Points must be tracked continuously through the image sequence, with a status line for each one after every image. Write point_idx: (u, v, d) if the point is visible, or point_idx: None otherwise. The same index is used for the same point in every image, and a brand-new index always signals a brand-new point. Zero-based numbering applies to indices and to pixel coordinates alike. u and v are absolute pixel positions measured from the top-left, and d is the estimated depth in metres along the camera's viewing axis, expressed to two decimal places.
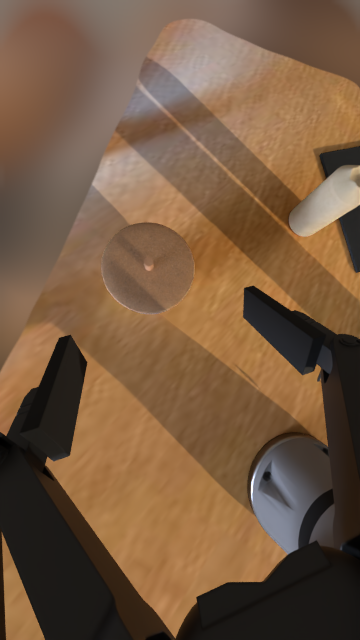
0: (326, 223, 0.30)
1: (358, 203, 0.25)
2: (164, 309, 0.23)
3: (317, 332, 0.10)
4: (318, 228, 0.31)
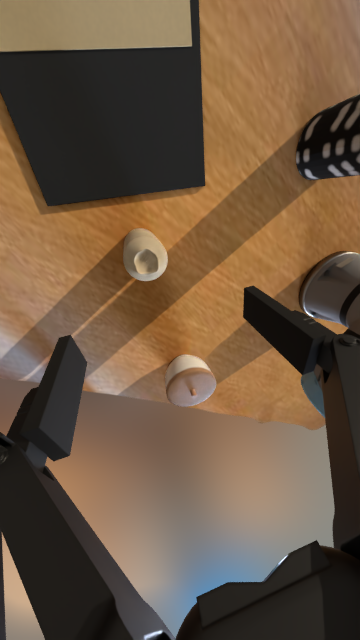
0: None
1: (166, 256, 0.25)
2: (215, 382, 0.42)
3: (317, 332, 0.10)
4: None
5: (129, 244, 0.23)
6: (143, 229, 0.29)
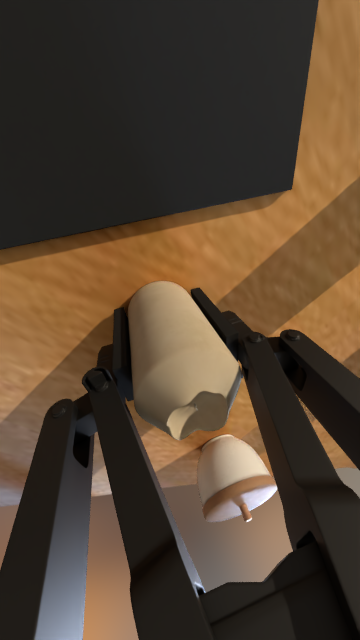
0: None
1: (240, 378, 0.10)
2: (276, 488, 0.27)
3: (232, 330, 0.11)
4: None
5: (151, 376, 0.08)
6: (168, 288, 0.14)
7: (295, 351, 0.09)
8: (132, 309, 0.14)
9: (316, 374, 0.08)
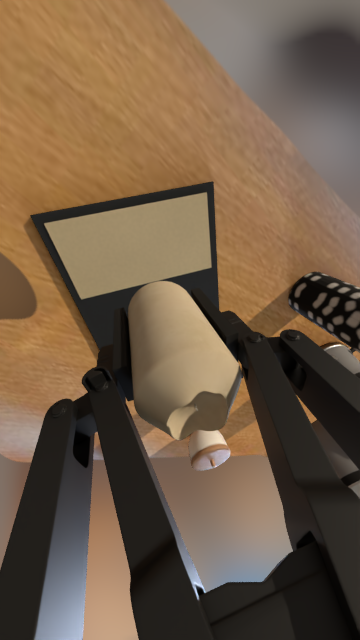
0: None
1: (240, 378, 0.10)
2: None
3: (232, 330, 0.11)
4: None
5: (151, 376, 0.08)
6: (168, 288, 0.14)
7: (295, 351, 0.09)
8: (132, 309, 0.14)
9: (316, 374, 0.08)
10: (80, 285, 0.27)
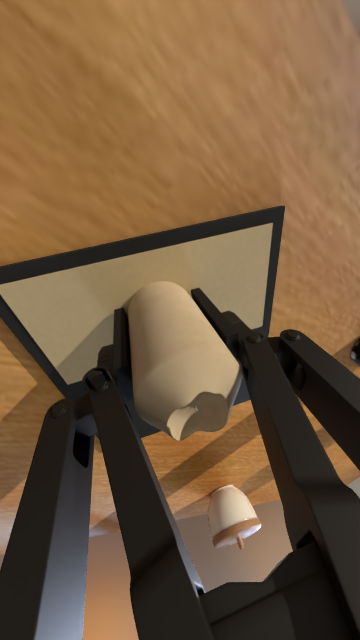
0: None
1: (240, 378, 0.10)
2: (260, 525, 0.41)
3: (232, 330, 0.11)
4: None
5: (151, 376, 0.08)
6: (168, 289, 0.14)
7: (295, 351, 0.09)
8: (132, 309, 0.14)
9: (316, 374, 0.08)
10: (66, 367, 0.17)
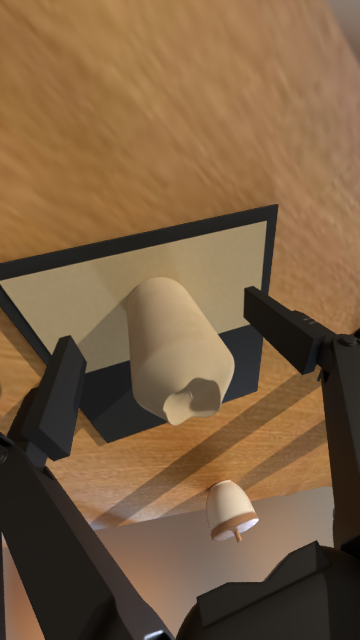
0: None
1: (233, 367, 0.11)
2: None
3: (317, 332, 0.10)
4: None
5: (148, 364, 0.09)
6: (165, 284, 0.14)
7: None
8: (131, 304, 0.14)
9: None
10: None
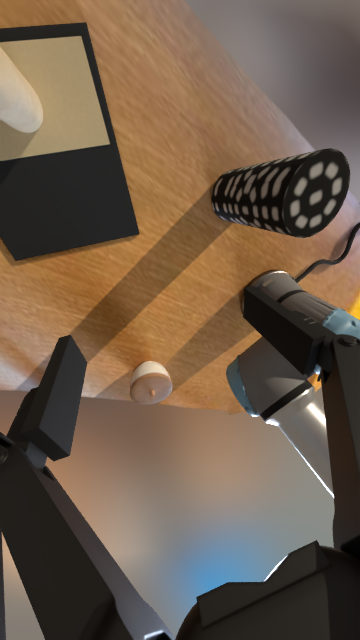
0: (30, 92, 0.23)
1: (10, 66, 0.19)
2: (171, 383, 0.50)
3: (317, 332, 0.10)
4: (35, 98, 0.24)
5: None
6: None
7: None
8: None
9: None
10: None
